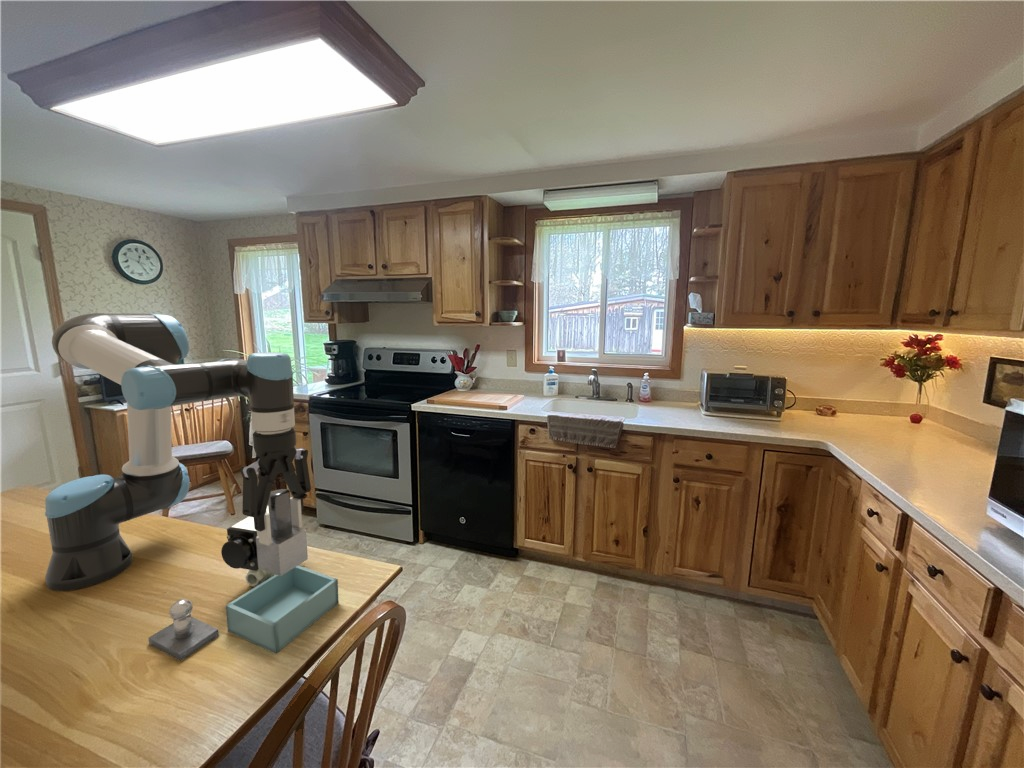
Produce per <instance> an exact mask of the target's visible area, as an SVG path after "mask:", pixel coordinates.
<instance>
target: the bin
mask: <svg viewBox="0 0 1024 768" xmlns="http://www.w3.org/2000/svg"><path fill="white" fill-rule="evenodd" d="M338 580H339V579H338V578H335V577H333V576H330V575H327V574H323V573H321V572H318V571H315V570H312V569H310V568H307V567H304V566H301V565H300V564H299V565H298V566H296V567H295V568H293V569H292V570H290V571H288V572H287V573H285V574H284V575H282V576H278V575H274V576H272V577H271V578H269V579H268V580H266V581H264V582H263V583H261V584H259V585H257V586H254V587H253V588H252V589H250V590H248V591H247V592H245V593H243V594H242V595H239V597H237V598H236V599H234V600H232V601H231V602H229V603H227V604H225V613H226V624H227V625H226V626H227V632H228V633H231V634H232V635H235V636H236V637H239V638H241V639H243V640H245V641H247V642H249V643H252V644H254V645H256V646H257V647H260V648H262V649H264V650H266V651H268V652H270V653H272V654H275V655H277V654H278V653H279V652H280V651H282V650H283V649H284V648H285V647H286V646H287V645H289V644H290V643H291V642H292V641H294V640H295V639H296V638H297V637H298V636H300V635H301V634H302V633H304V632H305V631H306V630H307V629H308V628H310V627H311V626H313V624H315V623H316V622H317V621H318V620H319V619H320V618H322V617H324V615H325V614H327V613H328V612H329V611H330V610H332V609H333V608H334V607H336V606H337V605H338V603H339V602H340V601H339V585H338V584H339V582H338Z"/></svg>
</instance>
